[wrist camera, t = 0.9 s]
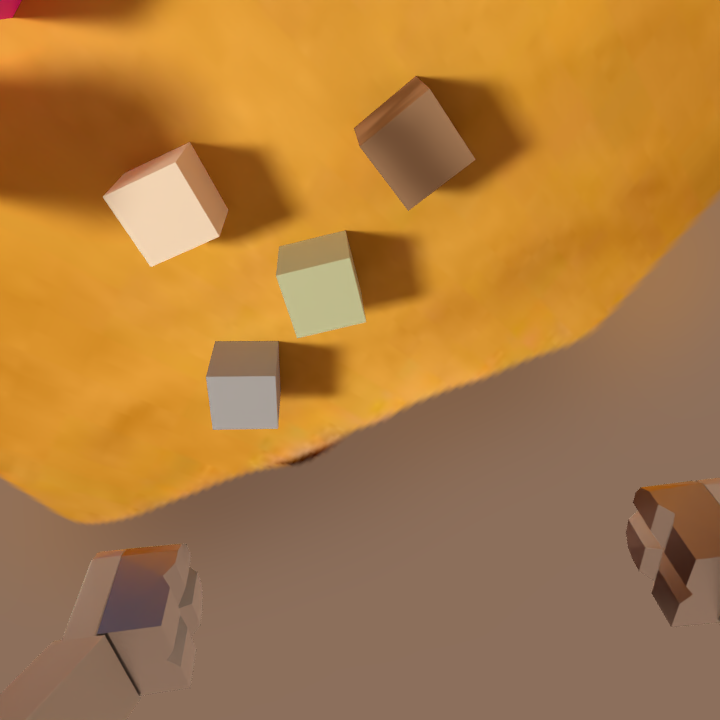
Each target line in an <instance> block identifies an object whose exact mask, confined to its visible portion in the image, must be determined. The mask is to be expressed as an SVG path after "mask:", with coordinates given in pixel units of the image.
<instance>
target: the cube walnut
mask: <svg viewBox="0 0 720 720" xmlns="http://www.w3.org/2000/svg"><path fill="white" fill-rule="evenodd" d="M354 129H355V133H356V136H357V139H358V142H359V146H360V148H361V149H362V150H363V152H364V153H365V154H366V155H367V157H368V158H369V159H370V161H371V162H372V163H373V165H374V166H375V167H376V169H377V170H378V171H379V173H380V174H381V175H382V177H383V178H384V179H385V181H386V182H387V183H388V185H389V186H390V187H391V189H392V190H393V191H394V192H395V194H396V195H397V196H398V198H399V199H400V200H401V202H402V203H403V204H404V206H405V207H406V208H407V210H408V211H409V210H410V209H411V208H413V207H414V206H415V205H417V204H418V203H419V202H421V201H422V200H423V199H424V198H426V197H427V196H428V195H430V194H431V193H432V192H434V191H435V190H436V189H438V188H439V187H440V186H442V185H443V184H444V183H445V182H447V181H448V180H449V179H451V178H452V177H453V176H455V175H456V174H457V173H459V172H460V171H461V170H463V169H464V168H465V167H467V166H468V165H469V164H470V163H472V162H473V161H474V160H476V159H475V158H474V156H473V155H472V153H471V152H470V150H469V149H468V147H467V146H466V144H465V142H464V141H463V139H462V138H461V136H460V135H459V133H458V132H457V130H456V129H455V127H454V125H453V124H452V122H451V121H450V119H449V118H448V116H447V115H446V113H445V112H444V110H443V109H442V107H441V105H440V104H439V102H438V101H437V99H436V98H435V96H434V95H433V93H432V92H431V90H430V89H429V88H428V87H427V86H426V85H425V84H424V83H423V82H422V81H421V80H420V79H419V78H418V77H417V76H415V77H414V78H413V79H412V80H411V81H410V82H408V83H407V84H406V85H405V86H404V87H402V88H401V89H400V90H399V91H398V92H396V93H395V94H394V95H393V96H392V97H390V98H389V99H388V100H387V101H386V102H385V103H383V104H382V105H381V106H380V107H379V108H377V109H376V110H375V111H374V112H373V113H371V114H370V115H369V116H368V117H367V118H365V119H364V120H363V121H362V122H361V123H359V124H358V125H357V126H356V127H355V128H354Z"/></svg>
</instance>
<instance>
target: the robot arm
mask: <svg viewBox="0 0 720 720" xmlns="http://www.w3.org/2000/svg"><path fill="white" fill-rule="evenodd" d="M633 503H634V505H635V507H636V508H637V510H638V511H637V512H636V513H635V514H634V515H633V516H632V517H631V518H630V519H629V520H628V524H627V530H626V537H627V544H628V549H629V551H630V554H631V557H632V559H633V561H634V563H635V565H636V567H637V568H638V570H639V571H640V572H641V573H643V574H644V575H646V576H647V577H649V578H650V579H652V580H653V581H654V582H653V588H652V595H653V597H654V598H655V600H656V602H657V604H658V605H659V607H660V609H661V610H662V612H663V614H664V616H665V617H666V619H667V621H668V622H669V624H670V626H671V627H678V626H689V625H699V624H709V623H720V478H714V479H705V480H696V481H686V482H678V483H670V484H663V485H655V486H648V487H640V489H639V490H638V491H637V492H636V493H635V496H634V500H633ZM190 560H191V554H190V551H189V549H188V547H187V544H174V545H163V546H153V547H142V548H131V549H123V550H114V551H104V552H98V553H97V554H96V556H95V557H94V558H93V559H92V561H91V563H90V565H89V568H88V571H87V573H86V576H85V579H84V582H83V584H82V587H81V590H80V592H79V595H78V598H77V601H76V603H75V606H74V609H73V612H72V614H71V617H70V619H69V622H68V625H67V628H66V630H65V633H64V636H63V638H62V640H59V641H53V642H52V643H51V644H50V645H49V646H48V647H47V648H46V649H45V650H44V651H43V652H42V653H41V654H40V655H39V656H38V657H37V658H36V659H35V660H34V661H33V662H32V663H31V664H30V665H29V666H28V667H27V668H26V669H25V670H24V671H23V672H22V673H21V674H20V675H19V676H18V677H17V678H16V679H15V680H14V681H13V682H12V683H11V684H10V685H9V686H8V687H7V688H6V689H5V690H4V691H3V692H2V693H1V694H0V720H126V719H127V718H128V717H129V715H130V714H131V712H132V711H133V709H134V708H135V706H136V705H137V704H138V702H139V701H140V696H142V695H149V694H155V693H161V692H168V691H175V690H180V689H188V688H190V686H191V681H192V675H193V669H194V663H195V656H196V647H195V645H194V642H193V640H192V637H191V636H192V635H193V634H194V633H195V632H196V630H197V629H198V628H199V627H200V625H201V618H202V611H203V592H202V586H201V581H200V578H199V575H198V572H196V571H195V570H193V569H192V568H190V567H189V566H190Z"/></svg>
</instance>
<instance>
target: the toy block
mask: <svg viewBox="0 0 720 720" xmlns="http://www.w3.org/2000/svg"><path fill="white" fill-rule="evenodd" d="M21 1H22V0H0V19H7V18H12V17H13V16H14V14H15V12H16V10H17V8H18V6H19V5H20V3H21Z"/></svg>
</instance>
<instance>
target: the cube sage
mask: <svg viewBox="0 0 720 720" xmlns="http://www.w3.org/2000/svg"><path fill="white" fill-rule="evenodd" d="M276 277H277V280H278V283H279V286H280V289H281V292H282V295H283V297H284V300H285V303H286V306H287V309H288V312H289V315H290V318H291V321H292V324H293V327H294V330H295V333H296V336H297V338H300V337H305V336H309V335H313V334H317V333H322V332H326V331H330V330H334V329H339V328H343V327H347V326H351V325H356V324H360V323H364V322H366V318H365V312H364V306H363V300H362V295H361V289H360V285H359V281H358V277H357V273H356V269H355V265H354V261H353V258H352V254H351V250H350V246H349V242H348V238H347V234H346V230H345V231H341V232H337V233H333V234H329V235H324V236H320V237H316V238H312V239H308V240H304V241H300V242H296V243H292V244H288V245H284V246H280V247H279V252H278V262H277V272H276Z"/></svg>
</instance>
